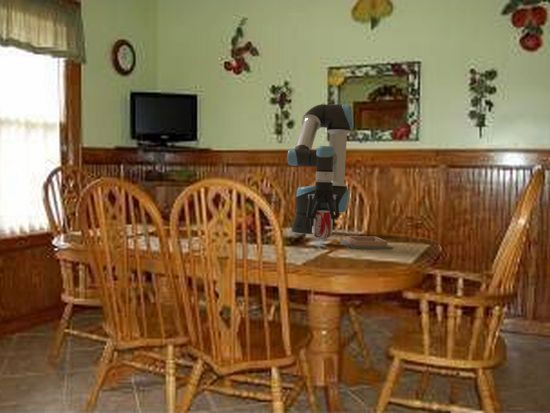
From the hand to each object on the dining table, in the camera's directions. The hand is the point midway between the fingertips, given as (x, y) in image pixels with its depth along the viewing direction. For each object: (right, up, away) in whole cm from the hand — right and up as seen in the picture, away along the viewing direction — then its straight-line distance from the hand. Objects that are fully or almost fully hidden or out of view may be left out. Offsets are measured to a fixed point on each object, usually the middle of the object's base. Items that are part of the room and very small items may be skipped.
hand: (322, 233), depth 255 cm
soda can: (0, -2, 0) cm, 2 cm away
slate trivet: (+19, -5, -1) cm, 20 cm away
